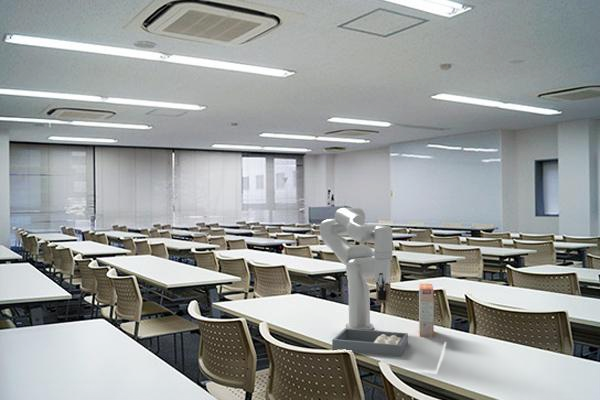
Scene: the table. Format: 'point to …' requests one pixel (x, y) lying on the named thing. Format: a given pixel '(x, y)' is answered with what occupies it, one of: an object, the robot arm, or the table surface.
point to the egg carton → (388, 339)
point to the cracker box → (426, 310)
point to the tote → (369, 342)
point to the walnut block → (388, 293)
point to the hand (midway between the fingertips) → (383, 298)
